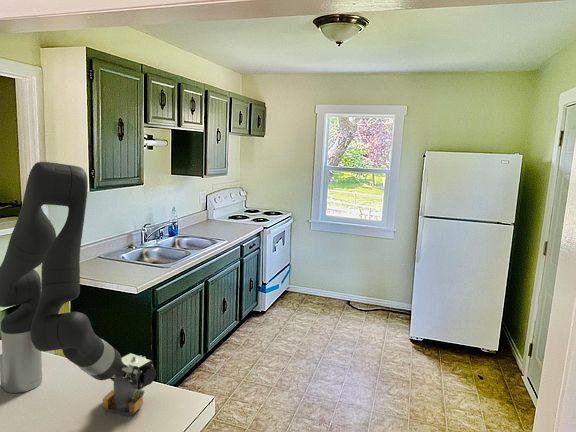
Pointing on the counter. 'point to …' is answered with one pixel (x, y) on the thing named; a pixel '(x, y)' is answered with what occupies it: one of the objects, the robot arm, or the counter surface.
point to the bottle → (122, 391)
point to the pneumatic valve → (145, 369)
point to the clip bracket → (122, 409)
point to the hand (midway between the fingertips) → (127, 379)
